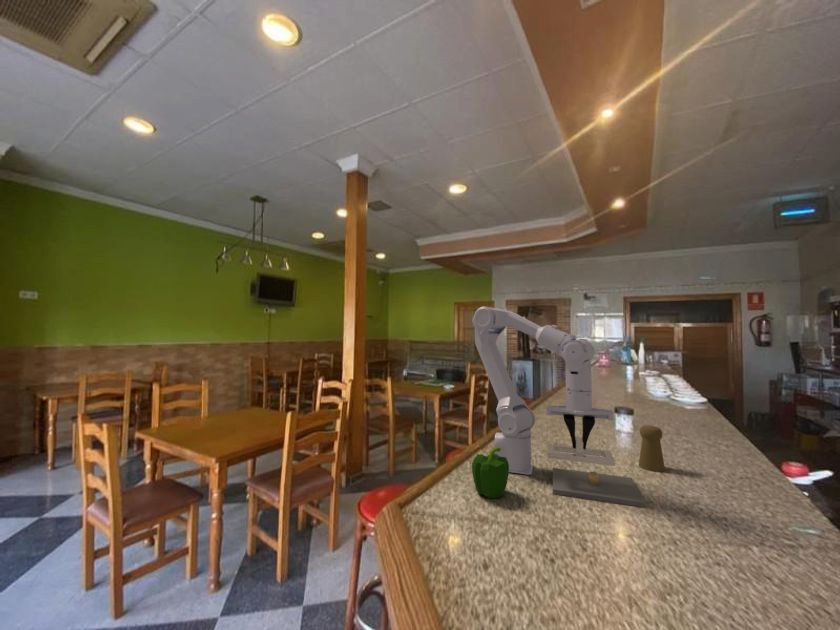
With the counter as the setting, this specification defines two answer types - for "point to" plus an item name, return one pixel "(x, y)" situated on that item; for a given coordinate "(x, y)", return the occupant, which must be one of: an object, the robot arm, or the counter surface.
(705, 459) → the counter surface
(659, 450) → the cork
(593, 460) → the double window frame
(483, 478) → the bell pepper
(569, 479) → the plate
